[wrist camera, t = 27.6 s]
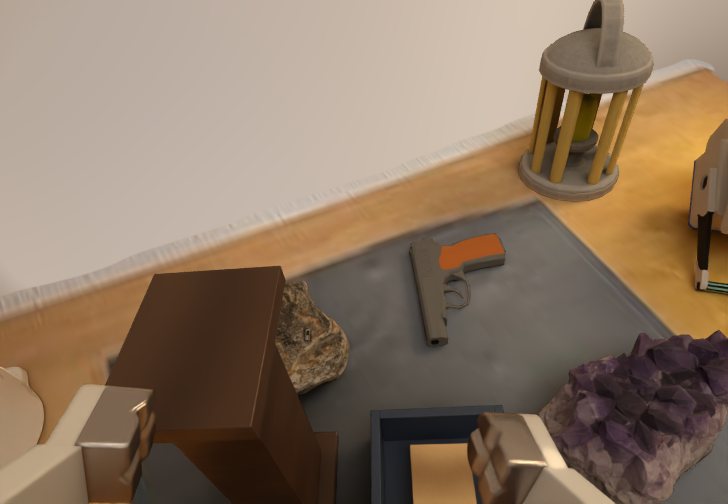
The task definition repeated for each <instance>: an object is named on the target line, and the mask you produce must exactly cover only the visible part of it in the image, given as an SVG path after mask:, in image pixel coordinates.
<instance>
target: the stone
mask: <svg viewBox="0 0 728 504" xmlns="http://www.w3.org/2000/svg"><path fill="white" fill-rule="evenodd" d="M275 344H276V346H277V348H278V351H279V353H280V355H281V358H282V360H283V362H284V365H285V367H286V369H287V372H288V374H289V377H290V379H291V381H292V384H293V386H294V388H295V391H296V393H297V395H298V396H299V395H301V394H305V393H307V392H309V391H310V390H312V389H313V388H315V387H317V386H319V385H320V384H322V383H326V382H329V381H334V380H336V379H338V378H339V377H340V376H341V374H342V373H343V372H344V370H345V368H346V364H347V360H348V356H349V351H350V346H349V342H348V339H347V337H346V335H345V333H344V331H343V330H342V328H341V327H339V326H338V325H337V323H336V322H335V321H334V320H333V319H331V318H329V317H328V316H326V315H325V314H324V313H323V312H322V311H320V310H318V309H317V308H316V305H315V304H314V303H313V301H312V300H311V298H310V295H309V292H308V286H307V283H306V282H305V281H298V282H294V283H290V284H286V285H285V287H284V293H283V299H282V305H281V311H280V317H279V323H278V328H277V334H276V340H275Z"/></svg>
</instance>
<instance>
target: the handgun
mask: <svg viewBox="0 0 728 504" xmlns="http://www.w3.org/2000/svg"><path fill="white" fill-rule="evenodd" d="M505 252H506V251H505V249H504V246H503V244H502V241H501V239H500V238H499V237H498V236H497V235H496V234H495V233H494V234H486V235H479V236H475V237H471V238H467V239H465V240H462V241H459V242H456V243H454V244H452V245H450V246H445V245H440V244H438V243H436V242H434V241H433V239H432V238H423V239H422V240H421V241H419V242H417V243H416V242H413V243H411V251H410V255H411V256H412V262H413V267H414V272H415V278H416V283H417V288H418V294H419V299H420V304H421V310H422V315H423V320H424V326H425V331H426V336H427V341H426V343H428V345H429V346H432V347H435V346H442V345H445V344H447V343H448V337H447V332H446V328H445V326H447V316H446V309H447V308H450V307H453V308H459V309H460V308H462V307H464V306H466V305H468V304H469V301H470V298H471V294H470V285H469V283H468V280H467V279H466V277H465V275H464V273H463V272H467V271H471V270H476V269H481V268H486V267H491V266H497V265H504V261H505ZM458 279H463V280H464V281H465V282H466V284H467V287H468V300H467V303H466V304H463V305H461V306H454V305H452V304H449V303H447V302H446V300H445V298H444V293H446V292H456V293H458V294H459V295H460V296H461V297H462V298H464V297H463V296H462V294H461V292H459V291H458V290H456V289H453V288H451V287H449V286H448V285H447V284H446V283H448V282H449V281H451V280H458Z"/></svg>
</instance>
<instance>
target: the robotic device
mask: <svg viewBox="0 0 728 504" xmlns="http://www.w3.org/2000/svg"><path fill="white" fill-rule="evenodd" d="M688 225H689V228H692V229H697V230H698V247H697V261H696V266H695V289H696V290H701V291H703V290H705V291H712V292H719V293H726V294H728V284H724V283H717V282H710V281H708V274H709V271H708V255H709V246H710V236H711V231H714V232H722V233H724V234H728V119H725V120H724V122H723V123H722V124H721V125H720V126H719V127H718V128H717V130H716V131H715V132H714V133H713V134H712V135H711V137H710V138H709V140H708V143H707V147H706V151H705V153H704V154H703V155H701V156H700V157H699V158H698V159H697V160H695V161H694V171H693V181H692V192H691V202H690V212H689V223H688Z"/></svg>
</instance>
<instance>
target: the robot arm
mask: <svg viewBox="0 0 728 504" xmlns="http://www.w3.org/2000/svg"><path fill="white" fill-rule="evenodd" d="M155 403H156V393H155V390H152V389H141V388H130V387H119V386H104V385H93V384H84V385H83V386H81V387H80V388H79V389H78V391H77V392H76V394H75V395H74V397H73V399H72V400H71V402H70V404H69V405H68V407H67V409H66V410H65V412H64V414H63V415H62V417H61V418H60V420H59V422H58V423H57V425H56V427H55V428H54V430H53V432H52V433H51V435H50V437H49V438H48V440H47V441H46V443H45V444H37V442H38V440H39V437H40V435H41V432H42V428H43V423H44V408H43V404H42V402H41V400H40V398H39V397H38V396H37V395H36V394H35V393H34V392H33V391H32V390H31V389H30V387H29V384H28V375H27V372H26V371H25V370H24V369H22V368H20V367H18V366H14V367H9V368H2V367H1V366H0V504H89V503H132V500H133V497H134V494H135V492H136V489H137V486H138V484H139V481H140V478H141V475H142V465H141V462H142V461H144V460H145V459H146V458H147V457H148V456H149V453H150V450H151V447H152V444H153V440H154V436H155V430H156V414H155V413H154V412H153V411H152V410H153V408H154V405H155ZM476 422H477V424H478V427H479V428H478V429H476V430H475V431H474V432H472V433H471V435H470V437H469V440H468V444H467V457H468V462H469V466H470V469H471V471H472V472H473V473H474V474H475V475H476V476H477V477H478V478H479V481H478V484H477V490H478V493H479V496H480V499H481V501H482V504H616V503H614V502H613V501H612V500H611V499H609V498H608V497H607V496H606V495H605V494H603V493H602V492H601V491H600V490H599V489H597V488H596V487H595V486H594V485H593V484H591V483H590V482H589V481H588V480H586V479H585V478H584V477H583V476H582V475H580V474H579V473H578V472H577V471H576V470H574V469H571V468H568V467H567V465H566V464H565V462H564V460H563V458H562V456H561V454H560V453H559V451H558V449H557V447H556V445H555V444H554V442H553V440H552V438H551V436H550V434H549V433H548V431H547V429H546V427H545V425H544V424H543V422H542V420H541V418H540V417H539V416H537V415H532V414H516V413H500V412H482V413H481V414H480V415H479V417H478V419H477V421H476ZM36 444H37V445H36Z"/></svg>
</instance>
